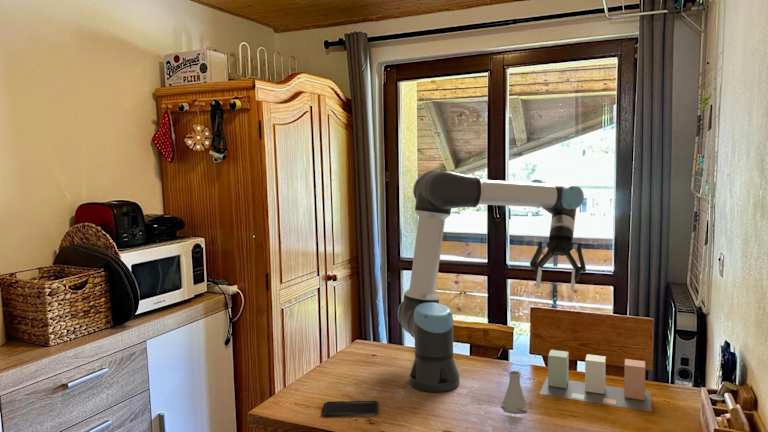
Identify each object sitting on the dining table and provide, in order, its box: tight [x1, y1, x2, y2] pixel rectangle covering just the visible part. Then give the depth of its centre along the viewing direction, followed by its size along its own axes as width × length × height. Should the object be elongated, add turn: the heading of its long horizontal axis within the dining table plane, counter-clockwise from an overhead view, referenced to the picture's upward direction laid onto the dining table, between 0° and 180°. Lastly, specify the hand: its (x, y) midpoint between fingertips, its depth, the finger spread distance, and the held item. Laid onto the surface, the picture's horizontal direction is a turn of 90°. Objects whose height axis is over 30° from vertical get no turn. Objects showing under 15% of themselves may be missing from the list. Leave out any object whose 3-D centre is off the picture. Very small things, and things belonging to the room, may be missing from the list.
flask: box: [500, 370, 528, 415], centre depth 141 cm, size 7×7×10 cm
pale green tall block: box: [547, 349, 570, 388], centre depth 152 cm, size 5×5×9 cm
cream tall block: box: [584, 353, 607, 394], centre depth 147 cm, size 5×5×9 cm
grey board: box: [539, 376, 652, 412], centre depth 146 cm, size 28×13×2 cm, turn 64°
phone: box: [321, 400, 379, 418], centre depth 142 cm, size 8×1×15 cm
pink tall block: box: [623, 358, 646, 400], centre depth 143 cm, size 5×5×9 cm
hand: (554, 287), depth 164 cm, fingers open, 10 cm apart
